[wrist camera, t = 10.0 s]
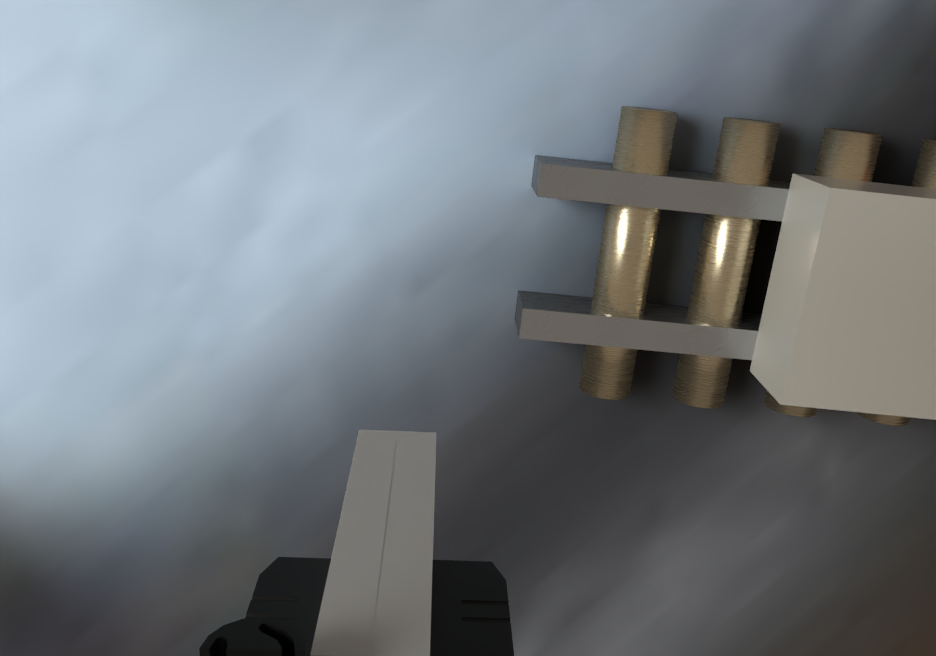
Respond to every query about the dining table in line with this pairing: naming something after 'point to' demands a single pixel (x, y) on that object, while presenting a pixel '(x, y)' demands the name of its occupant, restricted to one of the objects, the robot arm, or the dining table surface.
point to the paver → (852, 300)
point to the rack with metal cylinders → (719, 259)
